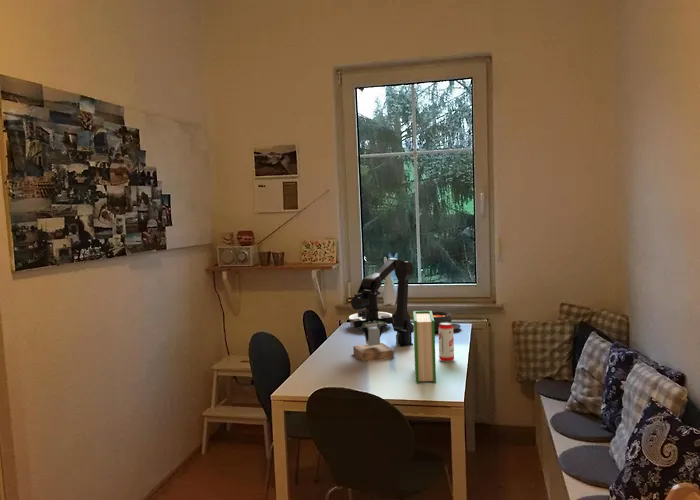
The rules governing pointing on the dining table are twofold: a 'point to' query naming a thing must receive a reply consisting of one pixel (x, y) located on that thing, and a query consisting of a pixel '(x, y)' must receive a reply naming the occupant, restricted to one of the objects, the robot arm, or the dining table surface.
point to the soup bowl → (380, 314)
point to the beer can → (446, 342)
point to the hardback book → (424, 346)
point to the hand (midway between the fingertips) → (372, 340)
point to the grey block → (373, 336)
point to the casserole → (442, 319)
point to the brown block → (373, 352)
